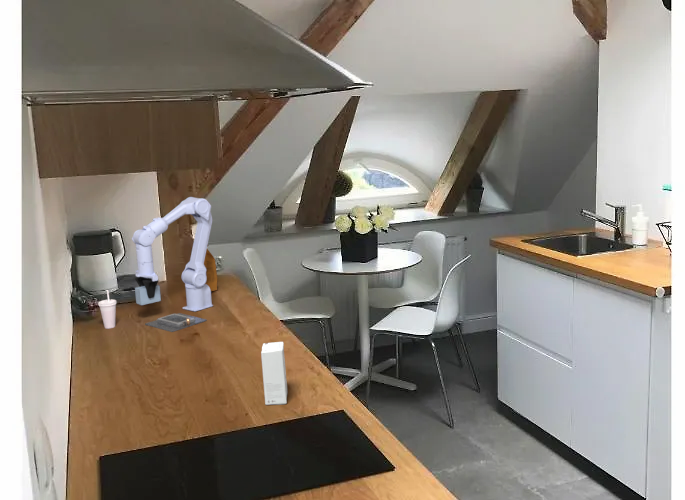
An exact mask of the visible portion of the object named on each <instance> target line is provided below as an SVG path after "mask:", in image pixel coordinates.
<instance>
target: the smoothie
mask: <svg viewBox="0 0 685 500" xmlns="http://www.w3.org/2000/svg"><path fill="white" fill-rule="evenodd" d="M106 294H107V295H106V296H107V299H103V300H100V301H99V302H98V303H97V304H98V306H99V308H100V314H101V318H102V321H103V326H104V329H113V328H116V315H117V313H116V312H117V311H116V308H117V300H116V299H112V298H111V299H110V292H109V290H108V289H106Z"/></svg>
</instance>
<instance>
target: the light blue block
mask: <svg viewBox="0 0 685 500" xmlns="http://www.w3.org/2000/svg"><path fill="white" fill-rule="evenodd" d="M160 287H161V286H160V285H159V284H157V286H156V289H155V295H154V297H153V298H148V295H147V291H146V287H145V286H142V287H139V286H137V287H134V293H135V302H136V304H137V305H139V306H144V305H148V304H153V303H156V302H157V303H158V302H161V301H162V300H161V298H162V297H161V288H160Z"/></svg>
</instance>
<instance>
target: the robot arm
mask: <svg viewBox="0 0 685 500" xmlns="http://www.w3.org/2000/svg"><path fill="white" fill-rule="evenodd" d="M211 209H212V205H211V204H210V202H209V201H208V200H207V199H206V198H202V197H201V198H199V197H194V196H189V197H187V198H186V199H184V200H182V201H181V202H180V203H179V204H178V205H177V206H175V208H173V209H172V210H171V211H170V212H168V213H167V214H165V216H163V217H159V216H158V217H154V218H152V221H150V223H148V224H147V225H143V226H142V229H140V228H139V229H137V230H135V231H134V232H133V235H132V237H131V240H132V242H133V243H134V244H135V251H136V252H135V254H136V261H137V263H136V264H137V270H134V271H135V272H134V273H135V277H136V278H134V280H135V282H136V283H137V284H138V287H142V286H145V287H146V291H147V295H148V298H153V297H154V295H155V289H156V286H157V285H158V283H159V277H158V275H157V273H156V272H155V268H154V267H155V266H154V258H153V257H154V256H153V248H152V245H153V243H154V241H155V239H156V238H158V237H159V236H160V235H163V233H165V232H166V231H167V230H168V228H169V225H170V224H172V223H174V222H175V221H176V220H178V219H180V218H181V217H183V216H185V215H191V216H193V217H192V218H194V219H195V221H196V222H197V225H196V231H195V235H194V238H193V239H194V240H193V244H192V249H191V255H190V258H189V261H188V262H187V263H186V264H185V268H184V270H183V271H182V273H181V280H182V282H183V283H184V287H185V297H186V305H185V306H183V307H182V309H183V310H185V311H191V312H197V311H201V310H205V309H207V308H211V307H213V306H214V304H213V303H212V302H213V301H212V291H211V290H210V287H209V286H208V285H207V284H205V283H206V280H207V277H206V268H205V266H204V260H205V255H206V250H207V249H208V247H207V245H209V239H210V235H211V231H212V224H213V216H212V212H211V211H212V210H211Z"/></svg>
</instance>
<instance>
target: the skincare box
mask: <svg viewBox="0 0 685 500" xmlns="http://www.w3.org/2000/svg"><path fill="white" fill-rule="evenodd" d="M284 347H285V345H284V341H276V342H265V343H262V347H261V352H260V355H261V367H262V380H263V382H262V383H263V391H264V392H263V393H264V403H265V404H264V405H265V406H269V405H286V404H287V397H288V383H287V380H288V379H287V372H286V358H285V357H286V356H285V348H284Z"/></svg>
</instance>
